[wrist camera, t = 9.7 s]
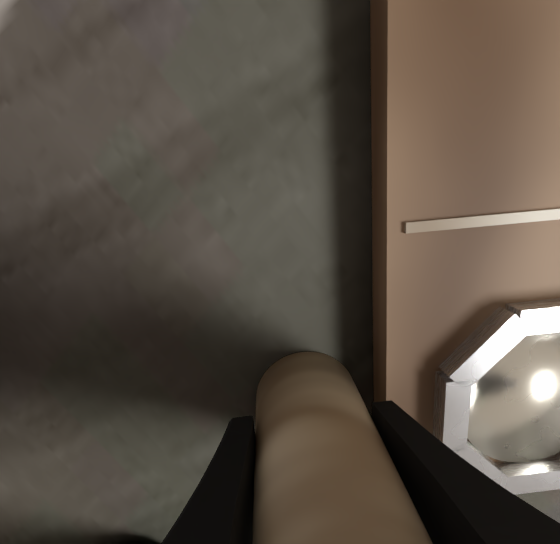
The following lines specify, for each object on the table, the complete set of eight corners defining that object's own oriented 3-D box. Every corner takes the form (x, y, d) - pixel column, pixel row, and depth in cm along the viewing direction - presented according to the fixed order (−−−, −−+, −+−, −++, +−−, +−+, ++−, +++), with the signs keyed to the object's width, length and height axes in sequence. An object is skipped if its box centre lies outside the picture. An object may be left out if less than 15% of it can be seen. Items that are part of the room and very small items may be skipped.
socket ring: (429, 487, 11) (439, 503, 11) (438, 310, 9) (450, 318, 9) (611, 465, 11) (630, 479, 11) (652, 288, 10) (677, 294, 9)
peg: (261, 443, 12) (261, 789, 5) (251, 357, 11) (234, 635, 4) (355, 432, 12) (482, 755, 5) (353, 346, 11) (505, 599, 4)
